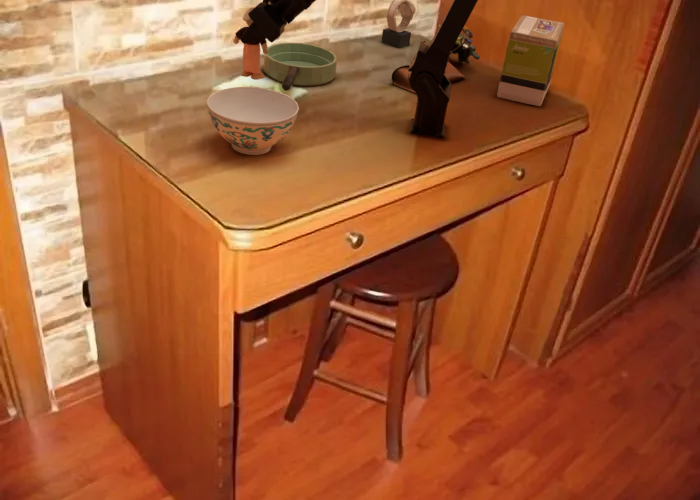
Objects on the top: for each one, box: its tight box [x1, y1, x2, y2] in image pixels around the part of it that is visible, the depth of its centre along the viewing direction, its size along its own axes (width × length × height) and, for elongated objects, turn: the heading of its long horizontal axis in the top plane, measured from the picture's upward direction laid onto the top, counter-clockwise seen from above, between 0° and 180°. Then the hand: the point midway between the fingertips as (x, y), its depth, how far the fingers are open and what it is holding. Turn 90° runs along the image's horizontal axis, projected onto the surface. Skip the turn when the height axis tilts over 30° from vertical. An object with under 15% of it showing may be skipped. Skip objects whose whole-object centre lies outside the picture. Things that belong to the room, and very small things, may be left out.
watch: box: [381, 0, 417, 49], centre depth 179 cm, size 6×8×11 cm
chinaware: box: [206, 86, 300, 156], centre depth 123 cm, size 15×15×8 cm
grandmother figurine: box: [233, 7, 268, 80], centre depth 136 cm, size 8×4×13 cm, turn 71°
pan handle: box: [281, 66, 299, 92], centre depth 144 cm, size 11×2×2 cm, turn 174°
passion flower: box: [422, 24, 481, 65], centre depth 170 cm, size 11×11×12 cm
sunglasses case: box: [391, 61, 467, 94], centre depth 161 cm, size 18×7×7 cm, turn 139°
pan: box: [263, 42, 338, 87], centre depth 155 cm, size 15×15×4 cm
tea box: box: [496, 14, 565, 107], centre depth 159 cm, size 15×10×15 cm, turn 160°
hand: (244, 39), depth 135 cm, fingers closed on grandmother figurine, 2 cm apart
